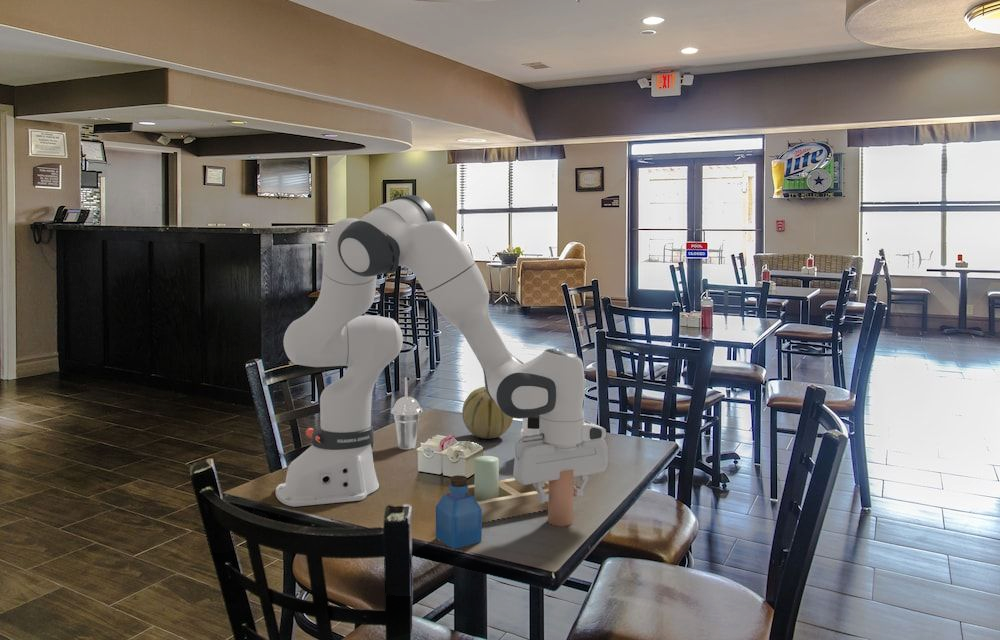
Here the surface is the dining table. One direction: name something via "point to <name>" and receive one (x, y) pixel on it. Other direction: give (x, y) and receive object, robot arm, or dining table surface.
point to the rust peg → (561, 499)
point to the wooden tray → (511, 500)
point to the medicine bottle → (530, 426)
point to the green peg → (486, 478)
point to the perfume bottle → (458, 516)
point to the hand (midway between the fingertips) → (560, 499)
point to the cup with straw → (406, 419)
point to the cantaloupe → (484, 415)
